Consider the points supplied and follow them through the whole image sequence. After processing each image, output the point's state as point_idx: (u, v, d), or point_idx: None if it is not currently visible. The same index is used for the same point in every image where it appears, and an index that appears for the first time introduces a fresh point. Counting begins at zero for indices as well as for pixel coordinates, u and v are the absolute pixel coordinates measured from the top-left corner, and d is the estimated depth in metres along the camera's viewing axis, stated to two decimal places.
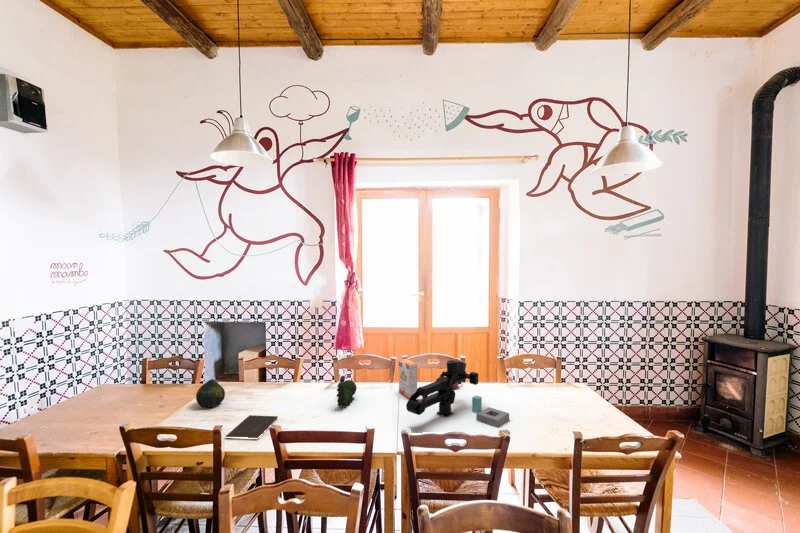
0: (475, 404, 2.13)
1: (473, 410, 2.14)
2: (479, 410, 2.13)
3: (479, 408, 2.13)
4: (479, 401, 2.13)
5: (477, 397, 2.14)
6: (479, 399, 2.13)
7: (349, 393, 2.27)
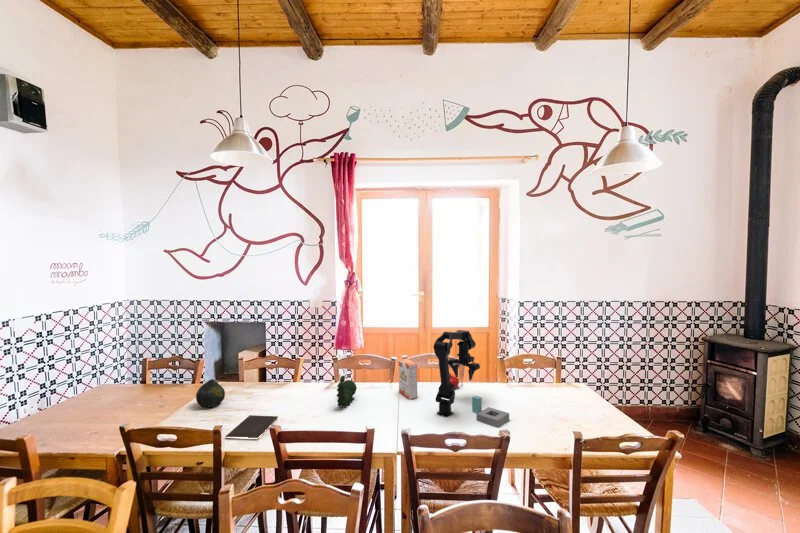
0: (475, 404, 2.13)
1: (473, 410, 2.14)
2: (479, 410, 2.13)
3: (479, 408, 2.13)
4: (479, 401, 2.13)
5: (477, 397, 2.14)
6: (479, 399, 2.13)
7: (349, 393, 2.27)
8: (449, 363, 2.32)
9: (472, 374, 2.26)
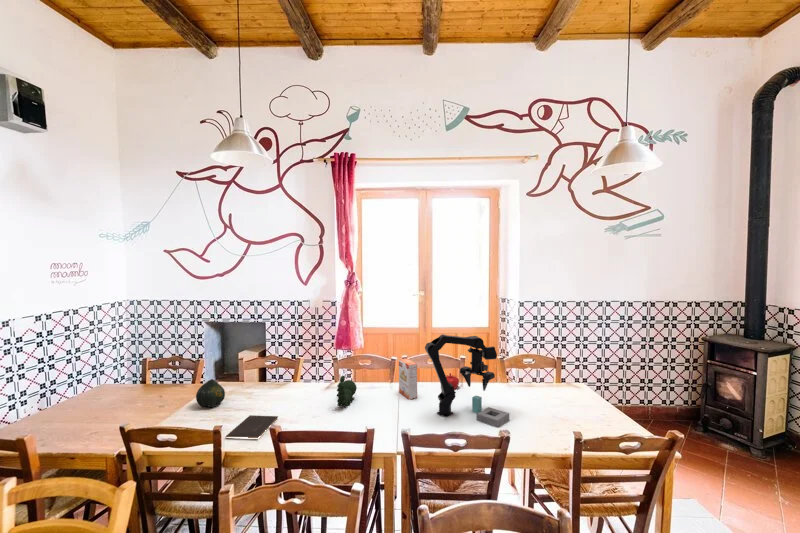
0: (475, 404, 2.13)
1: (473, 410, 2.14)
2: (479, 410, 2.13)
3: (479, 408, 2.13)
4: (479, 401, 2.13)
5: (477, 397, 2.14)
6: (479, 399, 2.13)
7: (349, 393, 2.27)
8: (461, 372, 2.17)
9: (486, 384, 2.10)
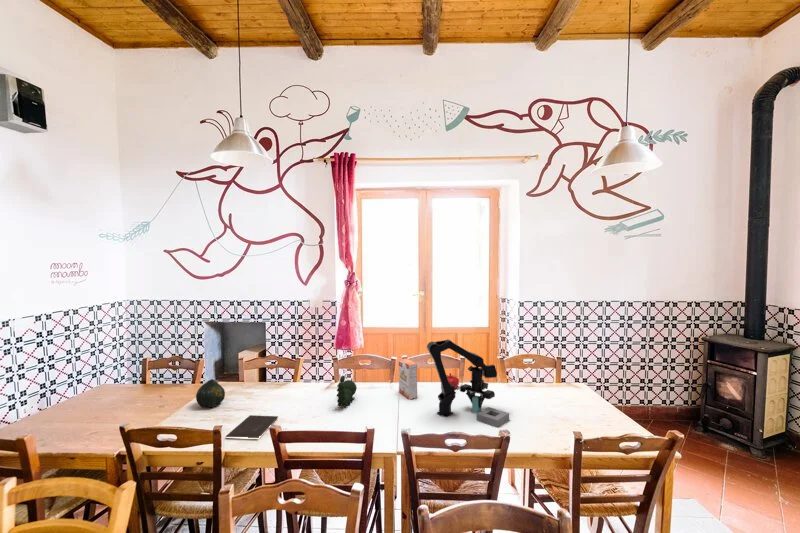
0: (475, 404, 2.13)
1: (473, 410, 2.14)
2: (479, 410, 2.13)
3: (479, 408, 2.13)
4: None
5: (477, 397, 2.14)
6: None
7: (349, 393, 2.27)
8: (461, 390, 2.17)
9: (482, 401, 2.13)
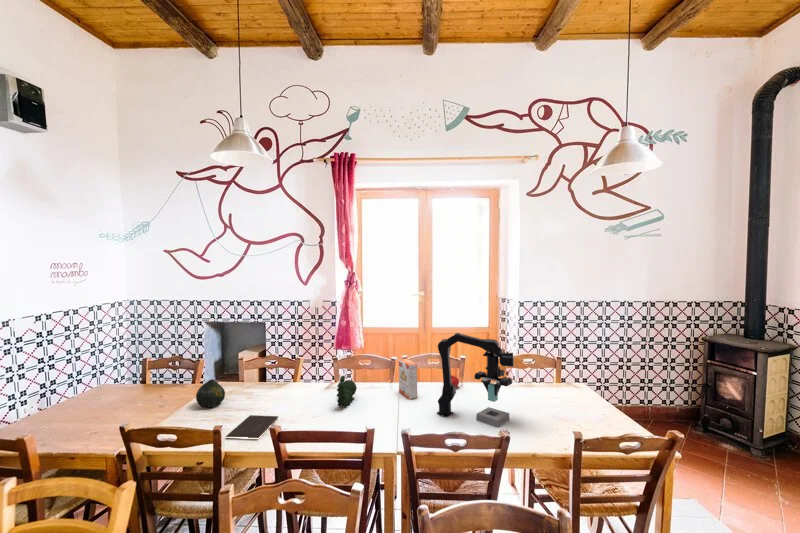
0: (491, 392, 2.02)
1: (489, 398, 2.03)
2: (495, 398, 2.02)
3: (495, 396, 2.02)
4: None
5: (493, 384, 2.03)
6: None
7: (349, 393, 2.27)
8: (476, 377, 2.06)
9: (498, 389, 2.01)
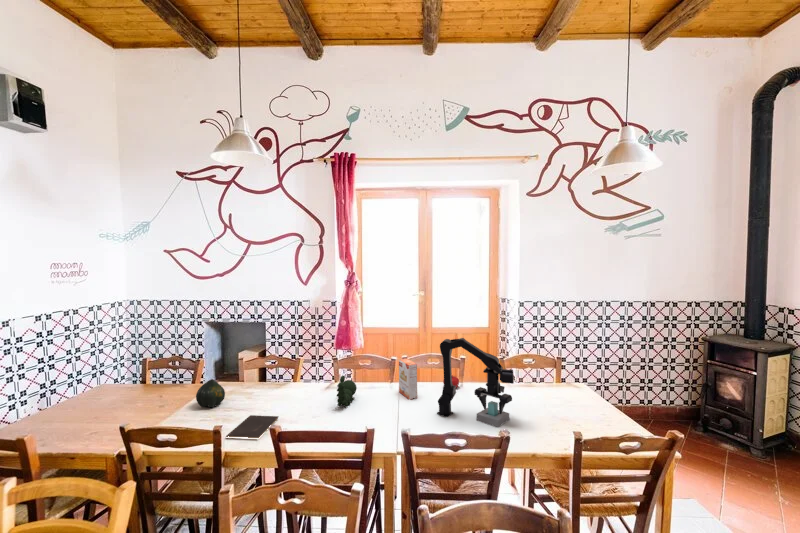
0: (491, 410, 2.02)
1: None
2: None
3: (495, 414, 2.02)
4: (495, 407, 2.02)
5: (493, 403, 2.03)
6: (495, 405, 2.02)
7: (349, 393, 2.27)
8: (476, 393, 2.06)
9: (503, 407, 2.00)
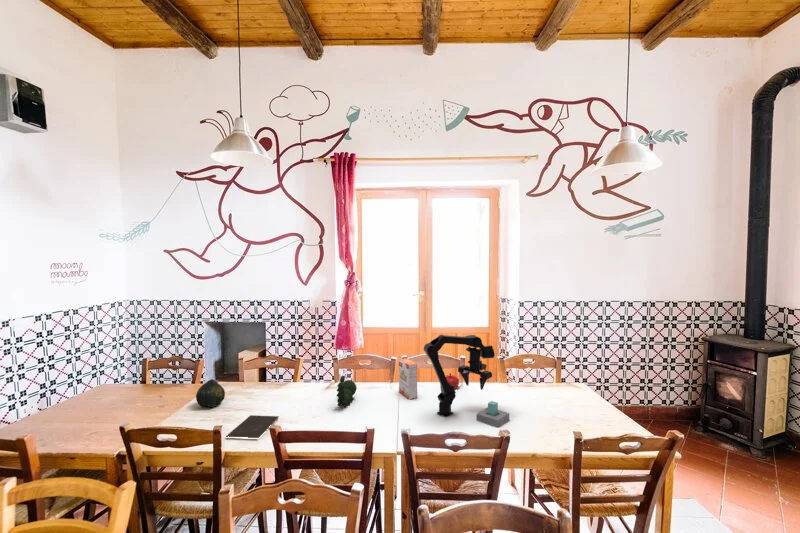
0: (491, 410, 2.02)
1: None
2: None
3: (495, 414, 2.02)
4: (495, 407, 2.02)
5: (493, 403, 2.03)
6: (495, 405, 2.02)
7: (349, 393, 2.27)
8: (459, 370, 2.18)
9: (484, 383, 2.11)
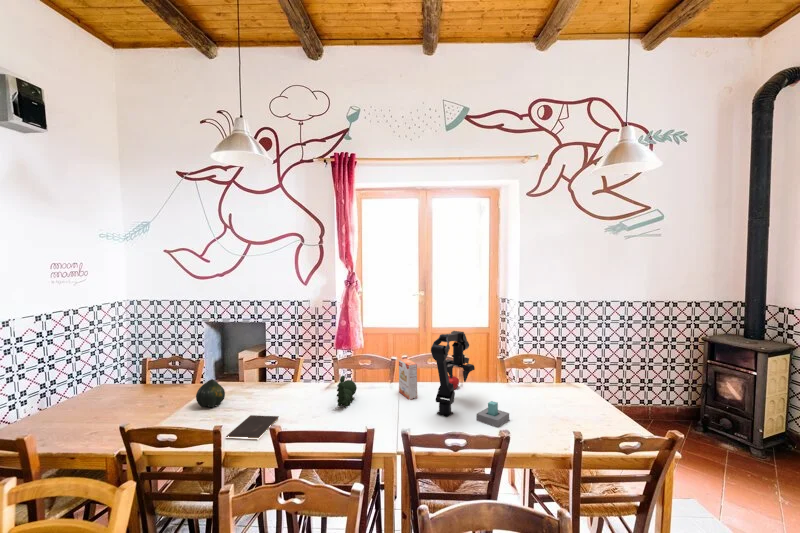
0: (491, 410, 2.02)
1: None
2: None
3: (495, 414, 2.02)
4: (495, 407, 2.02)
5: (493, 403, 2.03)
6: (495, 405, 2.02)
7: (349, 393, 2.27)
8: None
9: (467, 375, 2.24)
